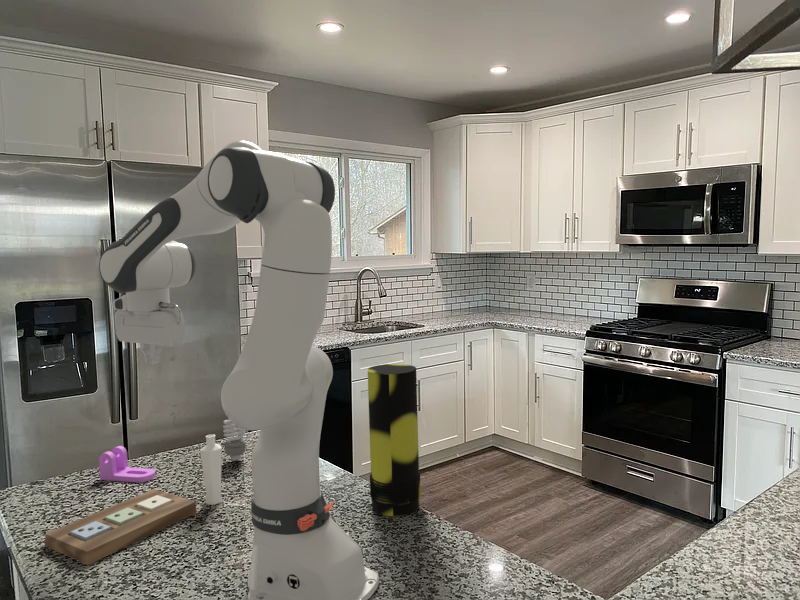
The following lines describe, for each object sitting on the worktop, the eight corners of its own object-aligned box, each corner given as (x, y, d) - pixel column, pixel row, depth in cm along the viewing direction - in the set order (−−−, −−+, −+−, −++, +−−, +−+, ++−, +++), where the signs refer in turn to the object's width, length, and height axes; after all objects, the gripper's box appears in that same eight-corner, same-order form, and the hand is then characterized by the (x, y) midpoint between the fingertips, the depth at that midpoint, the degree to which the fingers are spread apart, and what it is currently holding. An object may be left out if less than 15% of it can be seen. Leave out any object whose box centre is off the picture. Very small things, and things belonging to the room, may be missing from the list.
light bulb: (234, 466, 154) (232, 421, 153) (220, 462, 158) (217, 418, 156) (251, 459, 159) (249, 415, 158) (236, 456, 162) (234, 413, 161)
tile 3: (111, 538, 116) (110, 526, 116) (86, 550, 112) (85, 537, 112) (96, 533, 119) (95, 520, 119) (71, 544, 115) (70, 531, 114)
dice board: (196, 512, 128) (195, 501, 128) (87, 565, 108) (86, 551, 107) (154, 499, 135) (154, 488, 135) (46, 546, 115) (44, 533, 115)
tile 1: (172, 510, 128) (171, 499, 128) (152, 520, 124) (151, 508, 124) (157, 506, 131) (157, 494, 131) (137, 515, 127) (136, 503, 126)
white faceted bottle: (219, 506, 131) (215, 439, 129) (200, 505, 132) (196, 438, 130) (229, 497, 135) (225, 432, 134) (211, 496, 136) (207, 432, 135)
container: (431, 504, 129) (427, 367, 126) (397, 522, 121) (393, 376, 118) (394, 491, 136) (390, 361, 133) (360, 508, 128) (355, 370, 125)
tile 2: (143, 524, 122) (142, 512, 122) (121, 534, 118) (120, 521, 118) (128, 518, 125) (127, 506, 125) (106, 528, 121) (105, 516, 120)
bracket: (100, 480, 148) (98, 452, 148) (116, 471, 154) (114, 445, 153) (146, 483, 145) (144, 455, 145) (160, 474, 151) (158, 447, 150)
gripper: (191, 301, 129) (195, 364, 130) (133, 299, 139) (137, 357, 141) (166, 304, 123) (170, 370, 125) (107, 301, 134) (112, 362, 135)
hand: (152, 363), depth 133 cm, fingers closed
